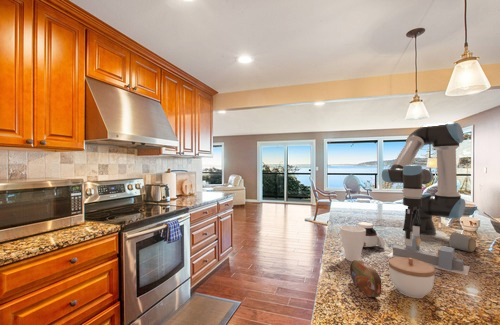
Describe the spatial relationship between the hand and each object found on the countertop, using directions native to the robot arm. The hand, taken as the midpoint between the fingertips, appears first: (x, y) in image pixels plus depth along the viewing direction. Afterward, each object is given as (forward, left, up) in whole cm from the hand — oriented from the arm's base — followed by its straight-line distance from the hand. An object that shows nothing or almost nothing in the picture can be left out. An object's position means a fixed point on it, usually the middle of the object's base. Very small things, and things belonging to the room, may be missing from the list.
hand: (412, 242), depth 116 cm
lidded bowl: (+43, +9, -5) cm, 44 cm away
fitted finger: (+11, +14, -4) cm, 18 cm away
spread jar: (+7, -17, -5) cm, 19 cm away
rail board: (+10, +7, -4) cm, 13 cm away
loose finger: (0, 0, -5) cm, 5 cm away
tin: (+52, -2, -5) cm, 52 cm away
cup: (+29, -16, -5) cm, 33 cm away
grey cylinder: (-22, +16, -5) cm, 28 cm away
